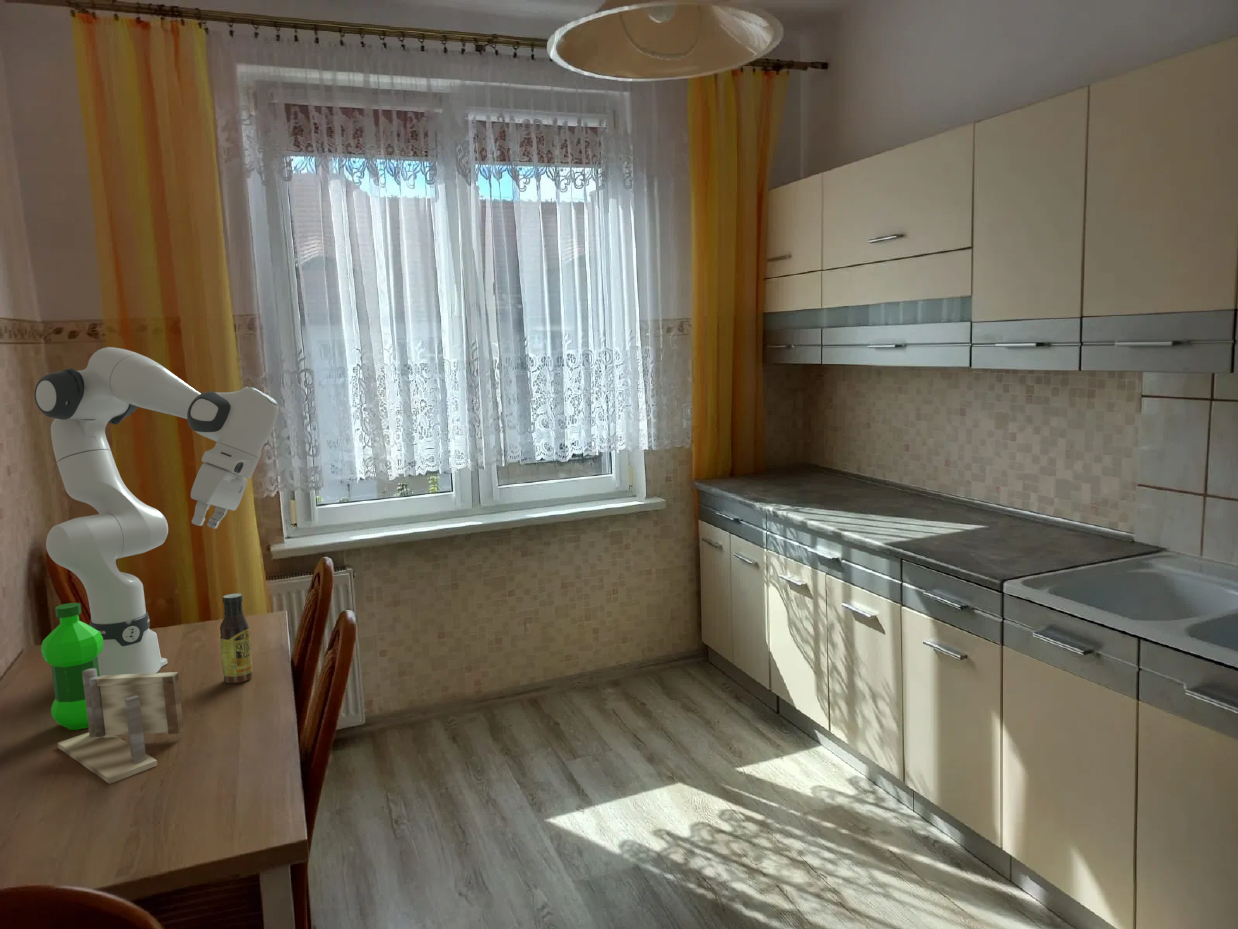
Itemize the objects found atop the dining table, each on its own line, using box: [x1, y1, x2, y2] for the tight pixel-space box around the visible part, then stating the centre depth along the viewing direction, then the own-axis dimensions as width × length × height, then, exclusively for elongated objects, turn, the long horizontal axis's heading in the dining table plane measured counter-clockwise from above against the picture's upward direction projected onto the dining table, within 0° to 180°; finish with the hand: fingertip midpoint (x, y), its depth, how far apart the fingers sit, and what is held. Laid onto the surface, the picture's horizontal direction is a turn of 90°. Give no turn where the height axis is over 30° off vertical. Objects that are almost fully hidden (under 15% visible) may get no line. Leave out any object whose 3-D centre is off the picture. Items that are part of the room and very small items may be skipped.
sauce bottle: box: [219, 593, 254, 684], centre depth 192 cm, size 7×6×20 cm
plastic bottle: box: [40, 602, 103, 731], centre depth 170 cm, size 10×10×25 cm
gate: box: [89, 671, 185, 737], centre depth 162 cm, size 16×2×12 cm, turn 92°
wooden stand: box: [57, 668, 158, 785], centre depth 156 cm, size 24×8×14 cm, turn 52°
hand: (204, 526), depth 171 cm, fingers open, 8 cm apart
